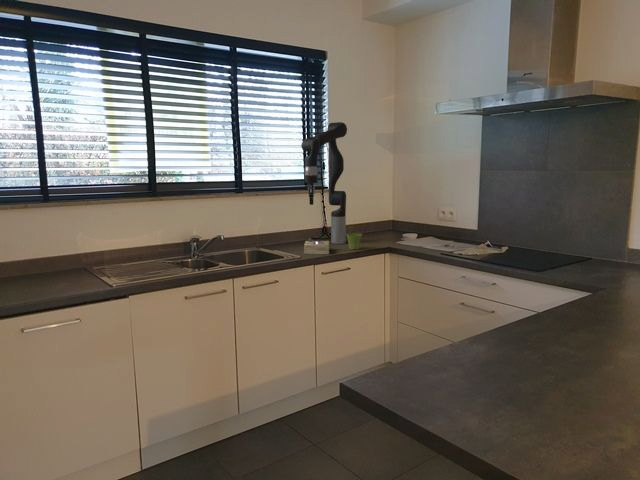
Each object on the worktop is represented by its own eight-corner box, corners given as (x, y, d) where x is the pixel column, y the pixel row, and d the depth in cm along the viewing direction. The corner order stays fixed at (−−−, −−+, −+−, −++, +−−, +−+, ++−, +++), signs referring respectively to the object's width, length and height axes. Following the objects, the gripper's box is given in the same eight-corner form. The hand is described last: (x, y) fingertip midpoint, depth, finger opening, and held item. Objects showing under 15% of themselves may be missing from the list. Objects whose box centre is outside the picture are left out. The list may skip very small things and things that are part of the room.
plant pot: (354, 251, 272) (354, 236, 271) (343, 248, 280) (343, 234, 278) (365, 249, 278) (365, 234, 277) (354, 247, 285) (354, 233, 284)
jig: (305, 249, 280) (305, 237, 278) (329, 249, 279) (329, 237, 278) (304, 254, 264) (304, 242, 263) (329, 254, 263) (328, 241, 262)
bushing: (315, 251, 274) (315, 240, 273) (322, 251, 273) (322, 240, 272) (315, 252, 270) (315, 242, 269) (322, 252, 269) (322, 241, 268)
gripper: (305, 174, 275) (305, 203, 278) (303, 174, 262) (304, 205, 265) (317, 174, 275) (318, 203, 278) (317, 174, 262) (317, 205, 265)
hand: (311, 204), depth 271 cm, fingers closed
